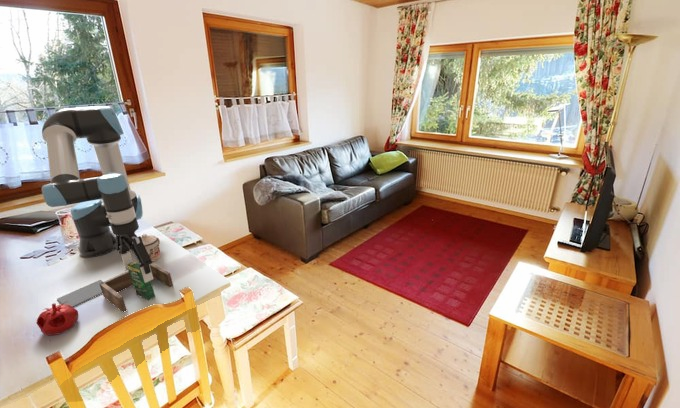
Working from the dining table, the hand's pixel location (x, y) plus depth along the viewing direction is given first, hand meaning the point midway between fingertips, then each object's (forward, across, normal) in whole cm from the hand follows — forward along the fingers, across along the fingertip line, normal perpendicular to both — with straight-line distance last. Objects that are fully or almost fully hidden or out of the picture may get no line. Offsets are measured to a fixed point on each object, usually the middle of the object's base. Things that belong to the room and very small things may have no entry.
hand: (139, 274), depth 115 cm
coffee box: (+10, 0, 0) cm, 10 cm away
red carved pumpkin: (+10, -7, -23) cm, 26 cm away
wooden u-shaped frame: (+9, -5, 0) cm, 10 cm away
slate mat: (+9, -20, -12) cm, 25 cm away
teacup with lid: (+9, -26, +16) cm, 32 cm away
